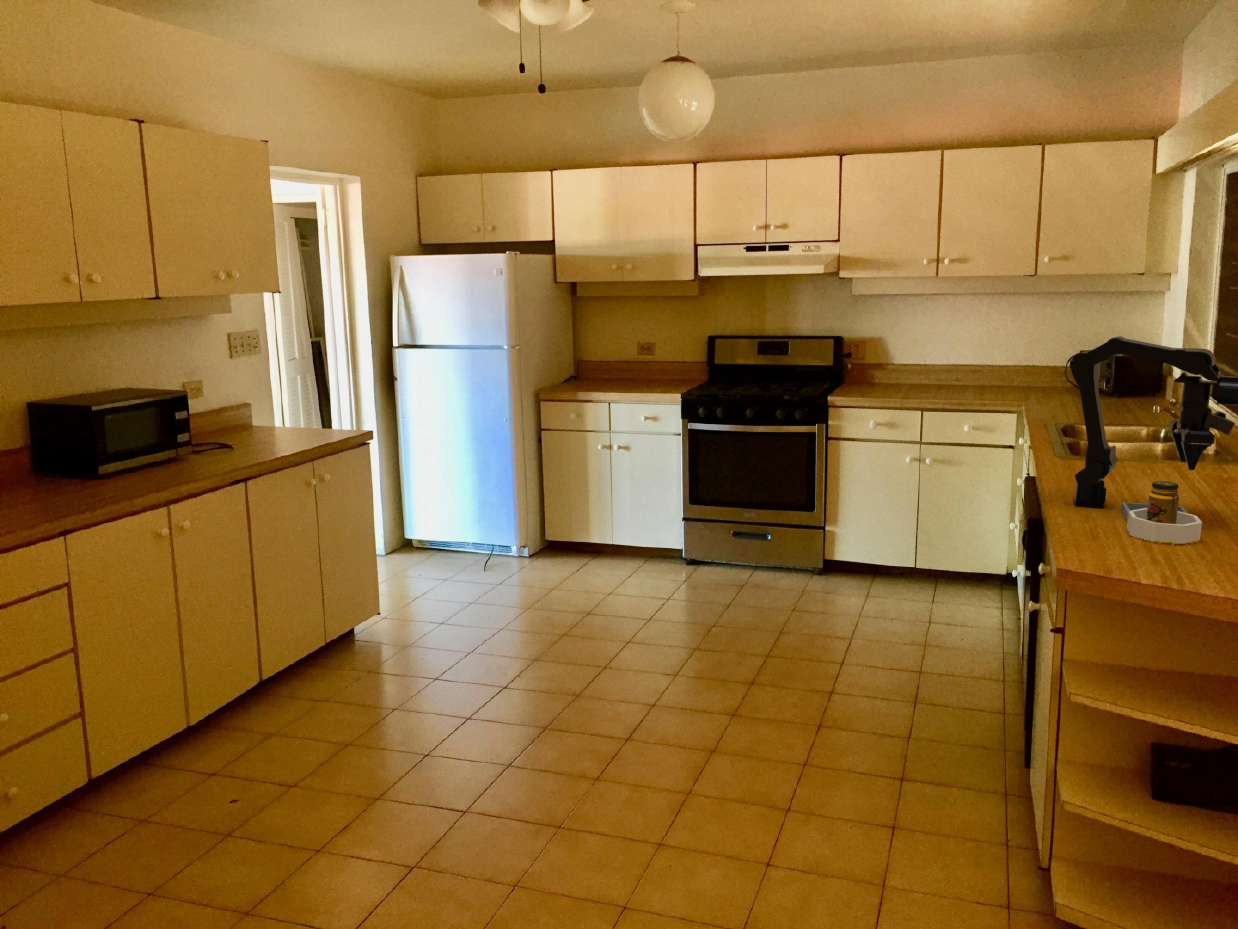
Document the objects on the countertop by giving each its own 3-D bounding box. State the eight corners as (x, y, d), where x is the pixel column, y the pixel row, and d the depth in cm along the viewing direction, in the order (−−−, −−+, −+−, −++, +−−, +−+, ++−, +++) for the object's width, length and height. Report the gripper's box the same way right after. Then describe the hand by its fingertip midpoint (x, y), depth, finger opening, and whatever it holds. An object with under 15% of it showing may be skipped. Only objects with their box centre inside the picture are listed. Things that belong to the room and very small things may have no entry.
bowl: (1133, 541, 221) (1135, 522, 220) (1124, 524, 234) (1126, 506, 233) (1203, 546, 216) (1206, 527, 215) (1190, 529, 229) (1192, 511, 228)
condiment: (1138, 533, 225) (1144, 483, 223) (1150, 526, 231) (1156, 476, 228) (1173, 540, 220) (1179, 488, 218) (1184, 532, 226) (1191, 481, 223)
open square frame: (1128, 523, 234) (1129, 515, 234) (1120, 509, 247) (1121, 502, 246) (1193, 528, 230) (1194, 520, 230) (1181, 513, 243) (1182, 506, 242)
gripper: (1244, 409, 222) (1235, 476, 225) (1224, 397, 239) (1216, 460, 242) (1188, 407, 225) (1180, 473, 229) (1173, 396, 243) (1165, 457, 246)
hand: (1187, 465), depth 236 cm, fingers open, 9 cm apart
